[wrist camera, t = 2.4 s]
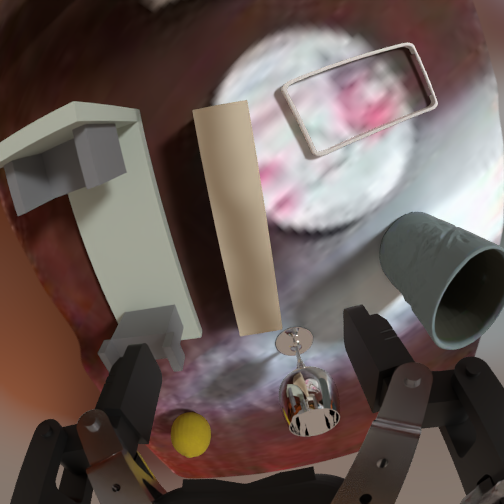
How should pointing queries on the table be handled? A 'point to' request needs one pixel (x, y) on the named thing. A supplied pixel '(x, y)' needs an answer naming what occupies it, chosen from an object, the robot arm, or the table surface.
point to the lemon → (190, 434)
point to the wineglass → (306, 389)
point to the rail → (239, 214)
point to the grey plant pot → (445, 277)
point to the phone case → (372, 131)
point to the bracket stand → (109, 218)
